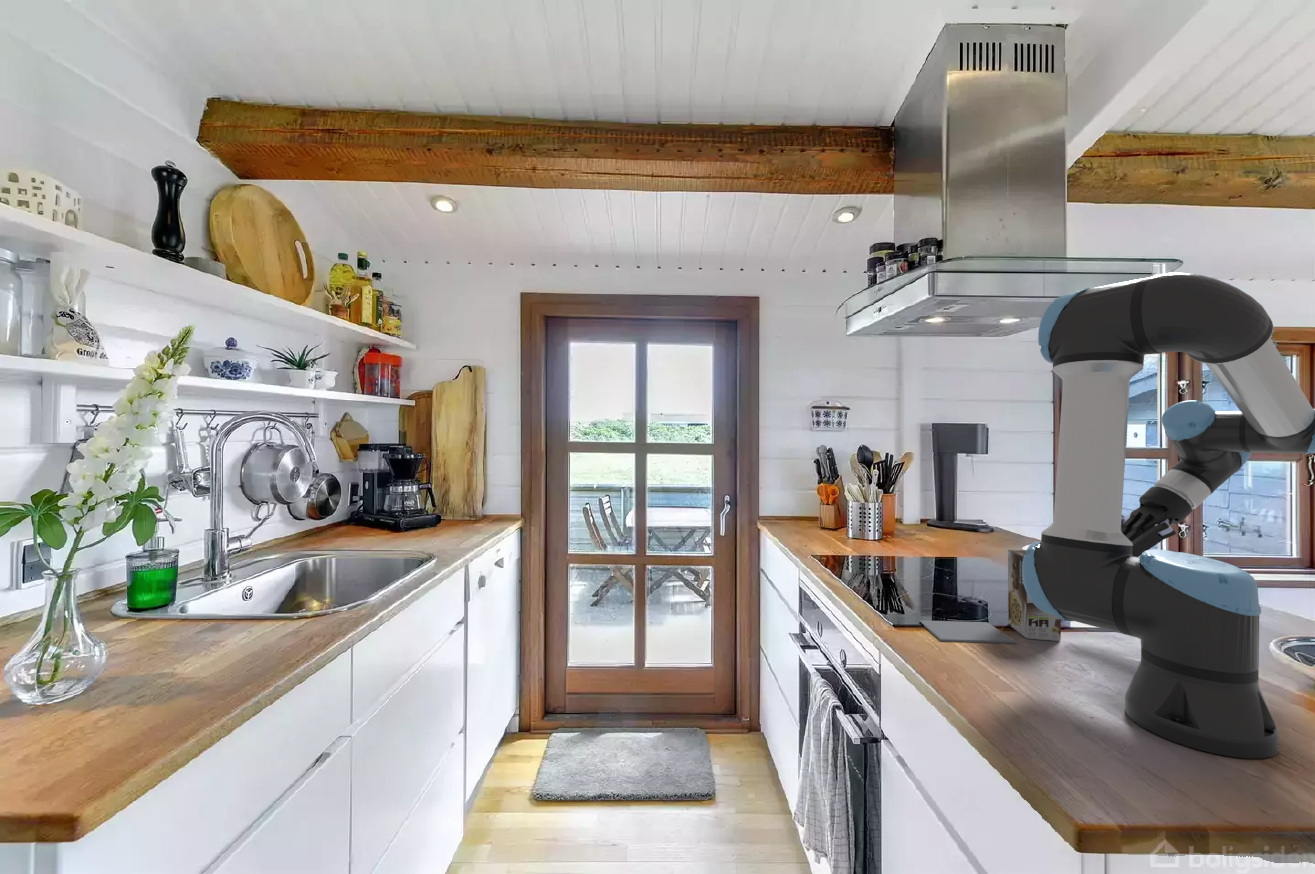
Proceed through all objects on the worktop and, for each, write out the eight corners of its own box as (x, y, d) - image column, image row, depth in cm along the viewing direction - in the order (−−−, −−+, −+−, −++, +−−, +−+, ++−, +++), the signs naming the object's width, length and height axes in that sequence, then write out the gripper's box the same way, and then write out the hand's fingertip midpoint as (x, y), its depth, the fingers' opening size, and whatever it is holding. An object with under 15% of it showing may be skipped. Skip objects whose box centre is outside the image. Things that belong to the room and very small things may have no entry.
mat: (987, 624, 119) (987, 622, 119) (1016, 643, 108) (1016, 641, 108) (919, 622, 120) (919, 620, 120) (940, 641, 109) (940, 639, 109)
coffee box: (1062, 641, 109) (1062, 559, 109) (1025, 639, 110) (1026, 557, 110) (1040, 626, 118) (1040, 549, 118) (1006, 624, 119) (1007, 548, 119)
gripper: (1216, 516, 105) (1121, 602, 106) (1160, 507, 118) (1076, 584, 119) (1186, 487, 105) (1092, 574, 107) (1133, 481, 118) (1050, 558, 120)
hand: (1084, 579), depth 113 cm, fingers closed
